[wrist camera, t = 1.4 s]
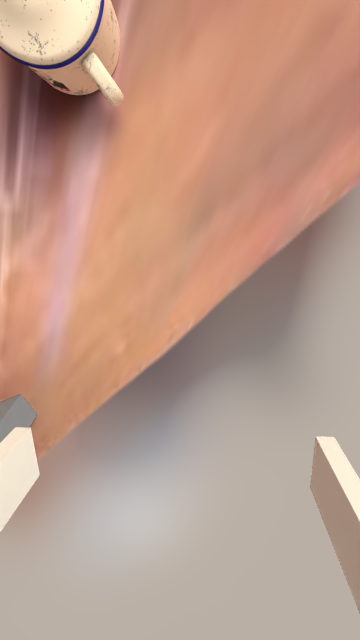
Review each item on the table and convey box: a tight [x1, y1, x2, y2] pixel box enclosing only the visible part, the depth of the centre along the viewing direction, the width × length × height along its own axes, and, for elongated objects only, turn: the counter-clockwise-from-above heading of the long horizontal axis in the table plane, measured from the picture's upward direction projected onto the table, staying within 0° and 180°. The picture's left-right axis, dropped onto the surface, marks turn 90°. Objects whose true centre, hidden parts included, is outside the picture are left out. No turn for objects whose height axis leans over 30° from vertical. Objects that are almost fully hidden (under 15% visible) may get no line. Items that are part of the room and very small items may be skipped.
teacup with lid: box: [0, 0, 123, 107], centre depth 23 cm, size 12×9×12 cm
